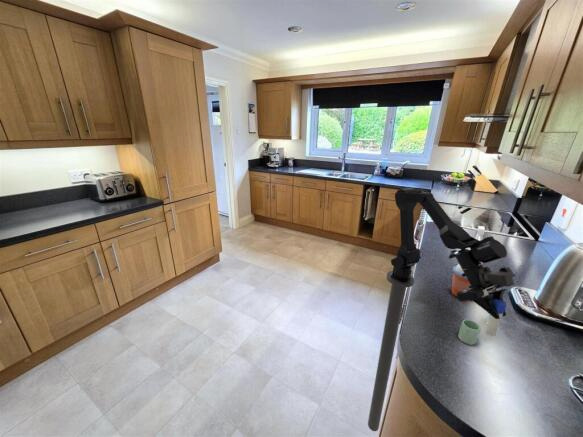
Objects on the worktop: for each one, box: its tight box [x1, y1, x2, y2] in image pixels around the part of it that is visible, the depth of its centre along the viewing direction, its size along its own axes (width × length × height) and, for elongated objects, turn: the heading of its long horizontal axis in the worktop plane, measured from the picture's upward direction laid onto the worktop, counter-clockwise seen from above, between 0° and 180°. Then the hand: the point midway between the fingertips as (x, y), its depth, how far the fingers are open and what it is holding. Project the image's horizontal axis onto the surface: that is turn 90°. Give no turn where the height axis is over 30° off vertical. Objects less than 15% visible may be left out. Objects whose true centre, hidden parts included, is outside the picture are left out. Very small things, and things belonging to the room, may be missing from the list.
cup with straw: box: [451, 263, 471, 297], centre depth 94 cm, size 9×9×18 cm
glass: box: [457, 318, 482, 346], centre depth 75 cm, size 5×5×6 cm
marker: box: [483, 299, 508, 337], centre depth 74 cm, size 3×3×12 cm
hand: (501, 317), depth 72 cm, fingers closed on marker, 3 cm apart
